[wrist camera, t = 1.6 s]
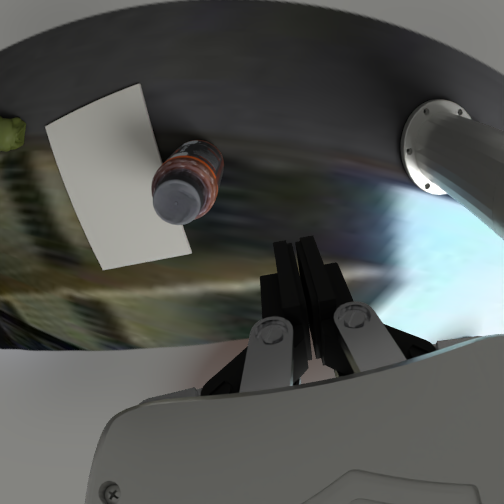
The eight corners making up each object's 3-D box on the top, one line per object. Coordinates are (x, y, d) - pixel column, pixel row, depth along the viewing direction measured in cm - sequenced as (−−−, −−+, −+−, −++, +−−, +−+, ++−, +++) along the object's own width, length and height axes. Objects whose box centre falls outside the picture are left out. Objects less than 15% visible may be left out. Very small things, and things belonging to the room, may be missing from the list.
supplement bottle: (178, 133, 30) (146, 159, 21) (230, 145, 31) (222, 176, 22) (168, 182, 33) (137, 226, 24) (217, 194, 34) (204, 243, 25)
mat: (140, 83, 27) (139, 83, 27) (191, 251, 38) (191, 253, 38) (46, 126, 28) (45, 126, 28) (104, 268, 40) (102, 270, 39)
